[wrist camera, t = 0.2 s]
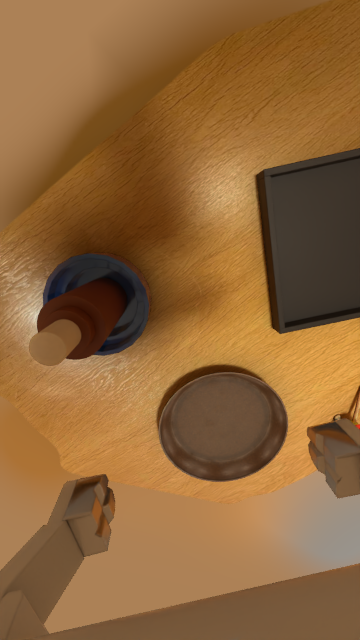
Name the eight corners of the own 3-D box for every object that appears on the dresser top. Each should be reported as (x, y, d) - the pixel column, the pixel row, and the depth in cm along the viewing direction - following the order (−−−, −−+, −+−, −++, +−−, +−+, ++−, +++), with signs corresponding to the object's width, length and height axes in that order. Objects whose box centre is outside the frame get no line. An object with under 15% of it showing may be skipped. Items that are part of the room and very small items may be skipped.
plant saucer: (139, 442, 45) (137, 457, 41) (195, 342, 40) (197, 351, 37) (240, 481, 48) (245, 497, 45) (303, 393, 43) (313, 405, 40)
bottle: (76, 283, 36) (-11, 318, 19) (120, 273, 36) (75, 300, 18) (90, 325, 38) (22, 394, 20) (132, 316, 38) (100, 377, 20)
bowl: (46, 263, 36) (26, 266, 31) (138, 243, 35) (134, 243, 30) (76, 349, 39) (63, 364, 34) (160, 332, 39) (159, 344, 34)
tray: (256, 175, 33) (263, 169, 31) (383, 147, 33) (400, 139, 31) (273, 328, 40) (280, 334, 37) (379, 306, 39) (394, 310, 37)
